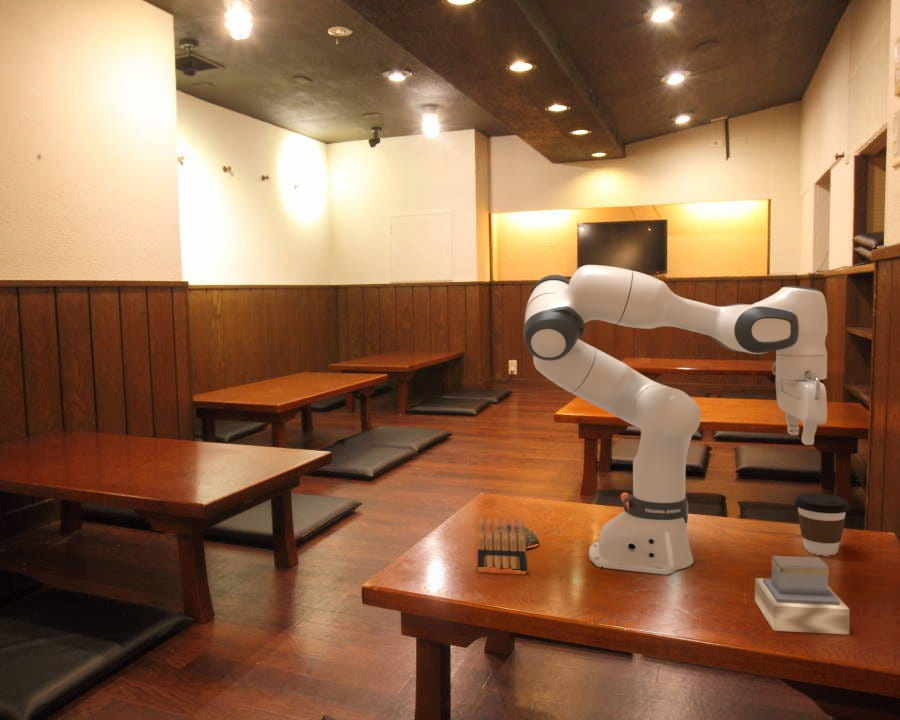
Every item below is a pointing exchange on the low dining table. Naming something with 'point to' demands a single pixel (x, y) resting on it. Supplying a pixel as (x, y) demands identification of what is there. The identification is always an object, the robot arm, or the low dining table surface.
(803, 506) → the coffee cup
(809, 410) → the robot arm
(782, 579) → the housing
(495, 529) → the ammunition clip
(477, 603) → the low dining table surface
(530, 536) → the dark speckled curved piece
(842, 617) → the stand
